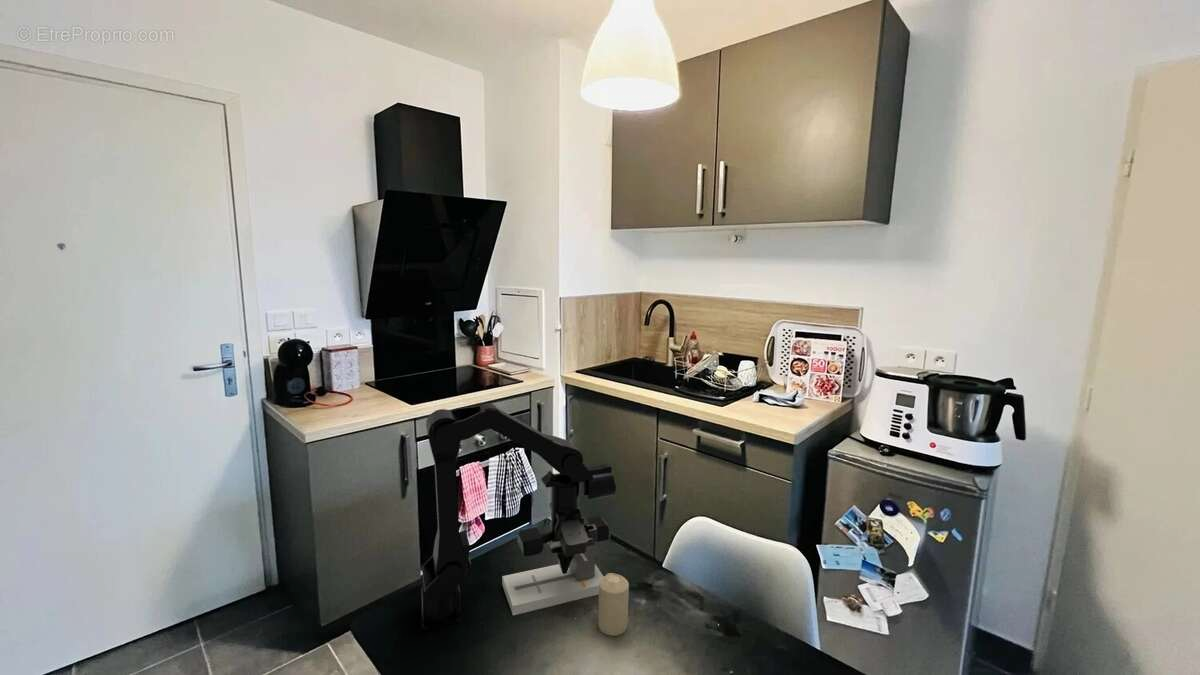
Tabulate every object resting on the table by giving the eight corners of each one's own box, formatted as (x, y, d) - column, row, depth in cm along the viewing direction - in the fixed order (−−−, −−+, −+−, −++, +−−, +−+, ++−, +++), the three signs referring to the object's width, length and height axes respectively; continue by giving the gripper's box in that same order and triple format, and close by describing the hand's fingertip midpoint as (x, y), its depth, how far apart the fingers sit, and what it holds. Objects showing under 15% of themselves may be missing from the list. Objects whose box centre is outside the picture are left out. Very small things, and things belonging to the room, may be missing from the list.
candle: (630, 619, 94) (632, 571, 93) (622, 639, 89) (624, 588, 88) (603, 612, 96) (604, 565, 95) (594, 631, 91) (595, 581, 90)
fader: (576, 580, 102) (577, 562, 101) (568, 567, 107) (569, 549, 106) (594, 576, 103) (595, 558, 103) (586, 563, 108) (586, 546, 108)
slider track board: (512, 615, 95) (512, 605, 94) (502, 585, 104) (502, 575, 103) (607, 592, 102) (608, 582, 102) (590, 565, 111) (590, 556, 111)
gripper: (530, 529, 90) (530, 607, 92) (622, 512, 98) (620, 585, 100) (516, 503, 101) (516, 573, 103) (600, 489, 108) (599, 556, 110)
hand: (563, 572), depth 103 cm, fingers closed
